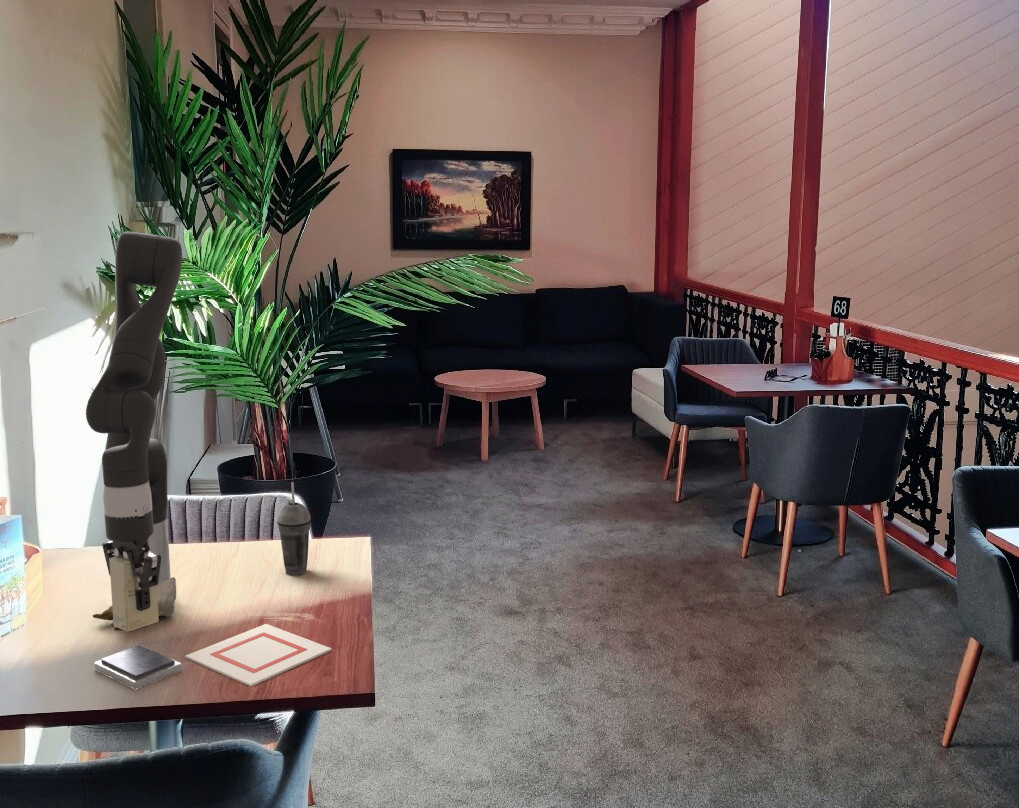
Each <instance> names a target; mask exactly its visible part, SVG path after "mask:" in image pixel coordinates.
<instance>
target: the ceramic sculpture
mask: <svg viewBox="0 0 1019 808" xmlns="http://www.w3.org/2000/svg"><path fill="white" fill-rule="evenodd" d="M176 599H177V580H176V577H174V576H173V577H171V579H168V580H165V581H162V582H161V583H159V584H158V585H157V601H158V617H159V616H160V617H161V616H163V617H168V618H170V617H172V616H173V615H174V612H175V609H176V608H175V603H176ZM92 617H93V618H94V619H98V620H104V621H113V608H112V605H111V606H109V607H108V609H105V610H104V611H103V612H102V613H95V614H92ZM113 631H115V632H126V631H125V630H122V629H120V628H117V627H115V626H114V628H113Z"/></svg>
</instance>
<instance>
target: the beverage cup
mask: <svg viewBox="0 0 1019 808" xmlns="http://www.w3.org/2000/svg"><path fill="white" fill-rule="evenodd" d="M290 485H291V502H290V503H287V504H285V505H284V506H283V507H282V508H280V511H279V513H278V516H277V521H276V524H277V528H278V531H279V534H280V543H281V551H282V557H283V558H282V560H283V565H284V570H285V574H286V575H287V576H293V577H295V576H298V577H299V576H302V575H305V574H306V573H307V572H308V571H307V569H308V563H309V562H308V559H309V542H310V541H309V539H310V530H311V524H312V523H311V522H312V519H311V514H310V511H309V510H308V509H307V507H306V506H305V505H304V504H302V503H299V502H296V500H295V484H294V481H291V484H290Z"/></svg>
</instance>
